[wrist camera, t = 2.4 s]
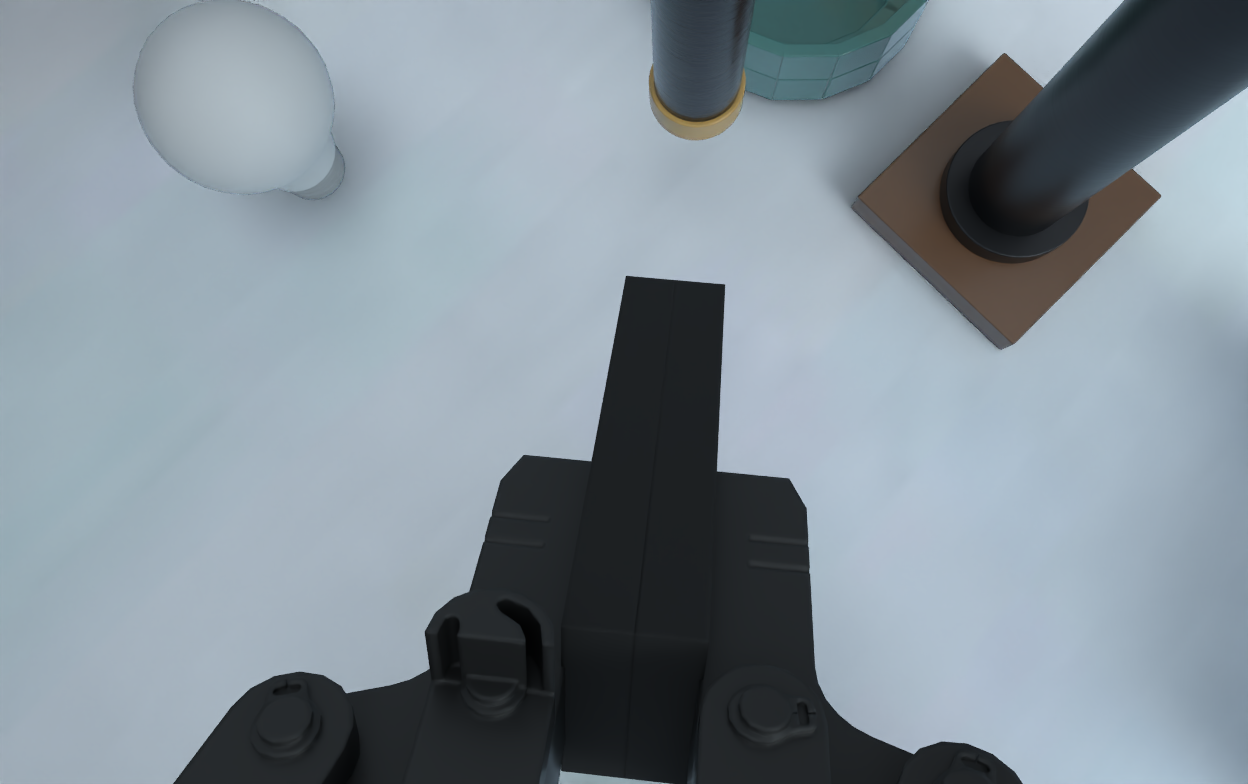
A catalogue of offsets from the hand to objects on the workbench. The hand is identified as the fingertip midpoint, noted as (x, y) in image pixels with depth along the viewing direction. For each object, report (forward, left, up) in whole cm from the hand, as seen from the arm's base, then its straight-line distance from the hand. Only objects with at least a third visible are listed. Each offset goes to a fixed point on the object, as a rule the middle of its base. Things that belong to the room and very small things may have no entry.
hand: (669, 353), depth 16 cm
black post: (+3, +15, -23) cm, 28 cm away
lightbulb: (-17, -3, -24) cm, 29 cm away
